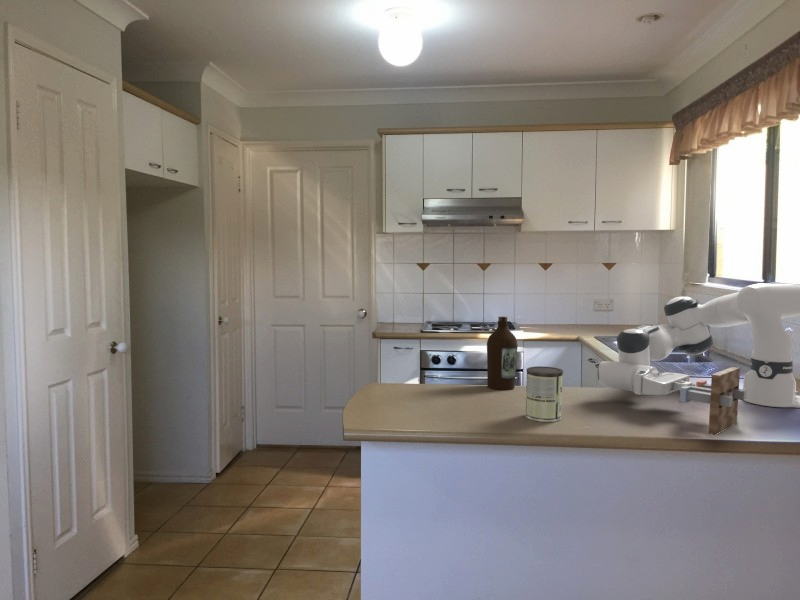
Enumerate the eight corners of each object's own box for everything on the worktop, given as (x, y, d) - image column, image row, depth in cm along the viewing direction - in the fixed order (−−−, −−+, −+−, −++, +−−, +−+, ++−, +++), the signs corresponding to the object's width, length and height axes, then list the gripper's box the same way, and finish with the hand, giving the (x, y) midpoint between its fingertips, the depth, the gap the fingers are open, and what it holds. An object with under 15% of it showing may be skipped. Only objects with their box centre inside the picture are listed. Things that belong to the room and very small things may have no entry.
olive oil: (479, 386, 225) (481, 316, 223) (501, 383, 230) (503, 314, 228) (499, 392, 216) (502, 319, 214) (522, 388, 222) (524, 317, 220)
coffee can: (521, 412, 189) (523, 366, 187) (555, 413, 189) (557, 366, 188) (529, 422, 178) (531, 372, 177) (565, 422, 179) (567, 373, 178)
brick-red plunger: (700, 393, 187) (701, 379, 187) (746, 400, 178) (747, 386, 178) (695, 395, 184) (696, 381, 184) (742, 403, 175) (743, 388, 175)
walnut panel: (729, 421, 182) (732, 366, 181) (736, 423, 181) (740, 367, 180) (708, 433, 170) (711, 374, 169) (716, 434, 169) (719, 375, 168)
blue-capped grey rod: (685, 399, 179) (685, 385, 178) (733, 407, 170) (733, 393, 169) (679, 401, 176) (680, 387, 175) (728, 410, 167) (728, 395, 167)
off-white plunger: (686, 395, 184) (687, 381, 184) (732, 403, 175) (733, 388, 175) (681, 397, 181) (681, 383, 181) (727, 405, 173) (728, 390, 172)
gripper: (660, 385, 204) (705, 392, 194) (632, 395, 189) (679, 403, 179) (661, 366, 203) (706, 372, 194) (633, 374, 189) (681, 381, 179)
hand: (693, 387), depth 186 cm, fingers closed
